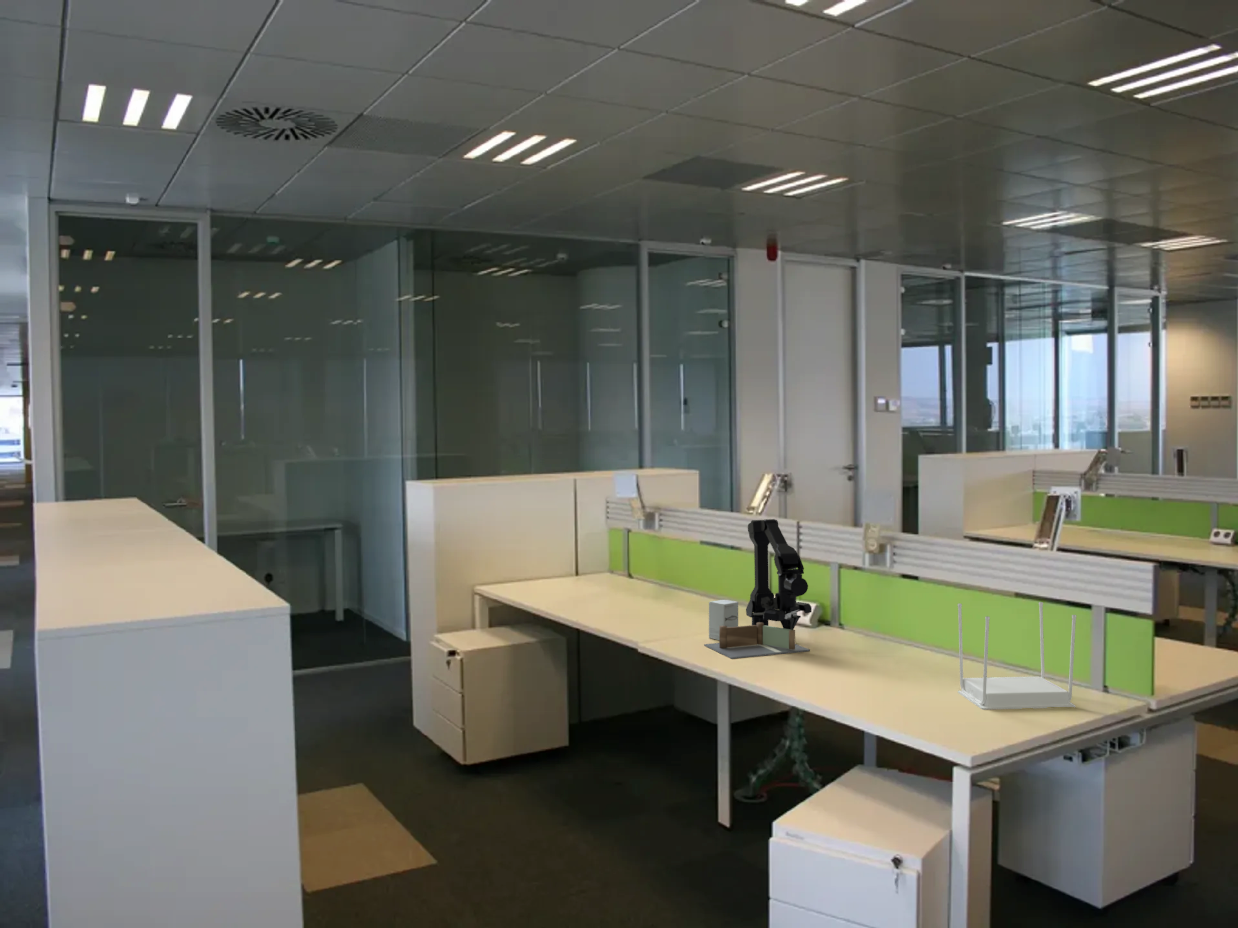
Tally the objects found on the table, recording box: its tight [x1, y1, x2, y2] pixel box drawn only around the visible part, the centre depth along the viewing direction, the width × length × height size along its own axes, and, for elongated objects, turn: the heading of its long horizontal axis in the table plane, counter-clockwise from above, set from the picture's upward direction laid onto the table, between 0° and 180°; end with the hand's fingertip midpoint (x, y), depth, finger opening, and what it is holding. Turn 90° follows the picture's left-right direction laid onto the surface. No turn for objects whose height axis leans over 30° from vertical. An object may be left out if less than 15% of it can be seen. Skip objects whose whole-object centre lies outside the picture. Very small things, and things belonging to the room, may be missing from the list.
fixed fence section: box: [718, 622, 764, 649], centre depth 336 cm, size 2×16×7 cm, turn 110°
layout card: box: [703, 642, 811, 660], centre depth 335 cm, size 20×28×1 cm
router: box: [957, 601, 1077, 711], centre depth 272 cm, size 19×25×24 cm
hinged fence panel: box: [763, 625, 796, 649], centre depth 333 cm, size 2×12×6 cm, turn 46°
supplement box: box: [708, 599, 739, 641], centre depth 350 cm, size 7×7×13 cm
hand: (788, 637), depth 334 cm, fingers closed
